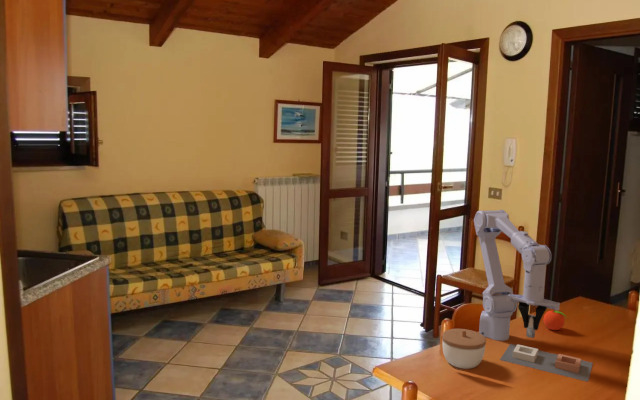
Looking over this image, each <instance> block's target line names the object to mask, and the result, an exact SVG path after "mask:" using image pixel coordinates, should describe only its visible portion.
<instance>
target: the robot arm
mask: <svg viewBox="0 0 640 400" xmlns="http://www.w3.org/2000/svg"><path fill="white" fill-rule="evenodd" d="M473 223H474V224H473V225H474V229H475V233H476V236H477V237H478V240H479V241H478V242H479V246H480V250H481V255H482V260H483V265H484V270H485V276H486V280H487V284H488V286H487V287H486V288H485V289H484V290H483V292H482V307H483V310H482V311H481V314H480V318H479V325H478V326H479V327H478V328H479V329H478V333H480V334H482V335H483V336H484V337H485V338H486V339H487V338H488V339H490V340H494V341H499V342H500V341H508V340H509V339H510V328H511V316H513V313H514V312H516V310H517V308H518V310H519V312H520V315H521V318H522V320H523V328H524V329H527V318H528V315H529V314H530V313H529V312H530V306H534V307H536V308H535V316H536V321H535V331H538V329H539V327H540V322H541V320H542V319H543V317H544V315H545V313H546V312H547V311H546V310H547V309H550V310H555V311H560V302H558V301H557V302H556V301H553V300H550V299H545V297H544V296H545V286H546V274H547V273H546V272H547V265H549V264H550V263H551V261H552V252H551V250H550V248H549V247H548V246H547V245H546V244H539V243H538V242H537V241H536V240H535V239H533V237H531V235H529V233H528V232H527V231H524V230H518V228H517V227H516V226H515V225H514V223H513V222H512V221H511V220H510V216H509V214H508V212H506V211H505V210H504V209H498V210H492V209H491V210H481V209H480V210H478V211H476V213H475V215H474V218H473ZM501 233H503V234H504V235H506V236H507V237H508V238H510V244H511V246H513V248H515V249H516V251H517V252H518V253H519V254H521V258H522V262H523V269H524V281H523V282H524V283H523V293H522V294H514V292H513V288H511V287H510V286H508V285H507V284H506V283H505V280H504V275H503V271H502V270H503V268H502V265H501V261H500V256H499V251H498V246H497V243H496V238H497V237H498V236H499V235H500V234H501Z"/></svg>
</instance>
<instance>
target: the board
mask: <svg viewBox="0 0 640 400" xmlns="http://www.w3.org/2000/svg"><path fill="white" fill-rule="evenodd" d="M516 346H517V344H513V343H509V345H508V347H507V348H506V349H505V351H504V353H502V356H501V357H500V359H499V361H502V362H507V363H511V364H515V365H518V366H523V367H526V368H531V369H536V370H538V371H543V372H547V373H551V374H554V375H559V376H563V377H567V378H572V379H573V380H574V379H576V380H580V381H582V382H583V381H584V382H589V380H590V376H591V371H592V368H593V364H594V363H593V362H591V361H586V360H582V359H581V366H580V369H579V373H575V372H570V371H566V370H562V369H558V368H555V361H556V359H557V356H558V354H556V353H551V352H549V351H548V352H547V351H545V350H544V351H543V350H539V349H538V356H537V358H536V360H535V362H534V363H533V362H529V361H525V360H521V359H517V358H513V351H514V349H515V347H516Z"/></svg>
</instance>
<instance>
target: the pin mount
mask: <svg viewBox="0 0 640 400" xmlns="http://www.w3.org/2000/svg"><path fill="white" fill-rule="evenodd" d="M516 345H517V346H516V347H515V349H514V351H513V358H517V359H521V360H525V361H529V362H533V363H534V362H535V360H536V358H537V356H538V350H539V348H536V347H532V346H531V347H530V346H526V345H522V344H519V343H518V344H516Z"/></svg>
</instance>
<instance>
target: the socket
mask: <svg viewBox="0 0 640 400" xmlns="http://www.w3.org/2000/svg"><path fill="white" fill-rule="evenodd" d="M557 355H558V356H557V359H556V361H555V368H558V369H562V370H566V371H570V372H575V373H579V369H580V366H581V360H582V358H579V357H575V356H571V355H566V354H562V353H558V354H557Z"/></svg>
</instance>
